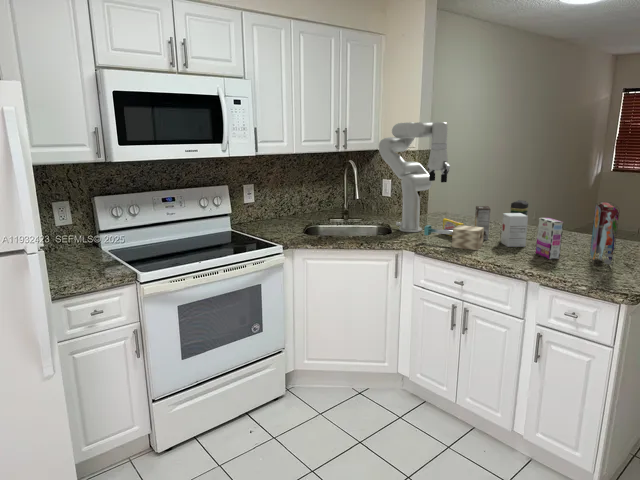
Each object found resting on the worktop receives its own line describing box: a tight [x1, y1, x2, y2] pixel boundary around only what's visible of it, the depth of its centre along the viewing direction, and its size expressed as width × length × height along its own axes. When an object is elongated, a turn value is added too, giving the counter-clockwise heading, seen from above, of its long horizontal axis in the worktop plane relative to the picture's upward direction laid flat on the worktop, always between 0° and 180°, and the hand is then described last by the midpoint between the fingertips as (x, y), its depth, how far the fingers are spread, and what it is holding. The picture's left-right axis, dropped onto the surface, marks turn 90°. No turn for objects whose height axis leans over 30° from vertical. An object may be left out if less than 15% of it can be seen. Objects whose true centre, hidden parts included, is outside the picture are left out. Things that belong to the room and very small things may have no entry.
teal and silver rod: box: [423, 224, 453, 236], centre depth 223 cm, size 18×4×4 cm, turn 57°
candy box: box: [442, 218, 465, 237], centre depth 240 cm, size 16×2×8 cm, turn 19°
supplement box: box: [500, 212, 529, 248], centre depth 218 cm, size 9×9×15 cm
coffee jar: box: [509, 199, 529, 216], centre depth 237 cm, size 10×8×19 cm
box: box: [589, 201, 620, 270], centre depth 188 cm, size 25×6×24 cm, turn 156°
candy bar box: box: [535, 217, 564, 260], centre depth 197 cm, size 11×5×16 cm, turn 5°
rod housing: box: [451, 225, 484, 251], centre depth 217 cm, size 12×10×9 cm
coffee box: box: [474, 205, 491, 241], centre depth 234 cm, size 9×6×16 cm
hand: (437, 181), depth 231 cm, fingers open, 9 cm apart
